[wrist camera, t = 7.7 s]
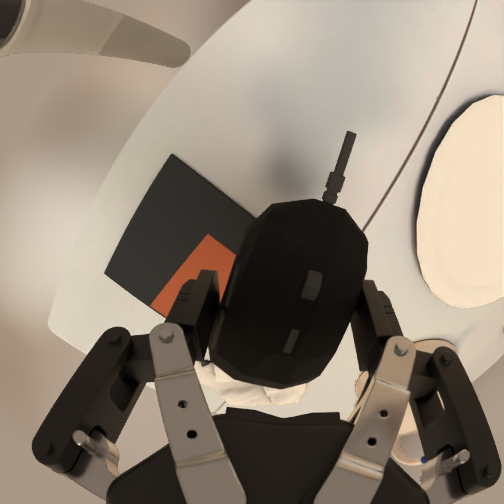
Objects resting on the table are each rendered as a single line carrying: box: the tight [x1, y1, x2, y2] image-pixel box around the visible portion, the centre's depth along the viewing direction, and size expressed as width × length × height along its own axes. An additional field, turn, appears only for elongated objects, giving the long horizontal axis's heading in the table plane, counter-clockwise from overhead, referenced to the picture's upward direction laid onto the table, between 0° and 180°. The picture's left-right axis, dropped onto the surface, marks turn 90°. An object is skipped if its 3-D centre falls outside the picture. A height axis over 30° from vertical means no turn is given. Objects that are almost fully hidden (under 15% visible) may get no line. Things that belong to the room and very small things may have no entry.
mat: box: [104, 154, 256, 318], centre depth 31 cm, size 16×20×1 cm
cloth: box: [194, 349, 307, 406], centre depth 42 cm, size 20×22×2 cm
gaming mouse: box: [208, 131, 368, 390], centre depth 11 cm, size 6×15×4 cm, turn 165°
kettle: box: [356, 340, 456, 466], centre depth 32 cm, size 20×21×18 cm
